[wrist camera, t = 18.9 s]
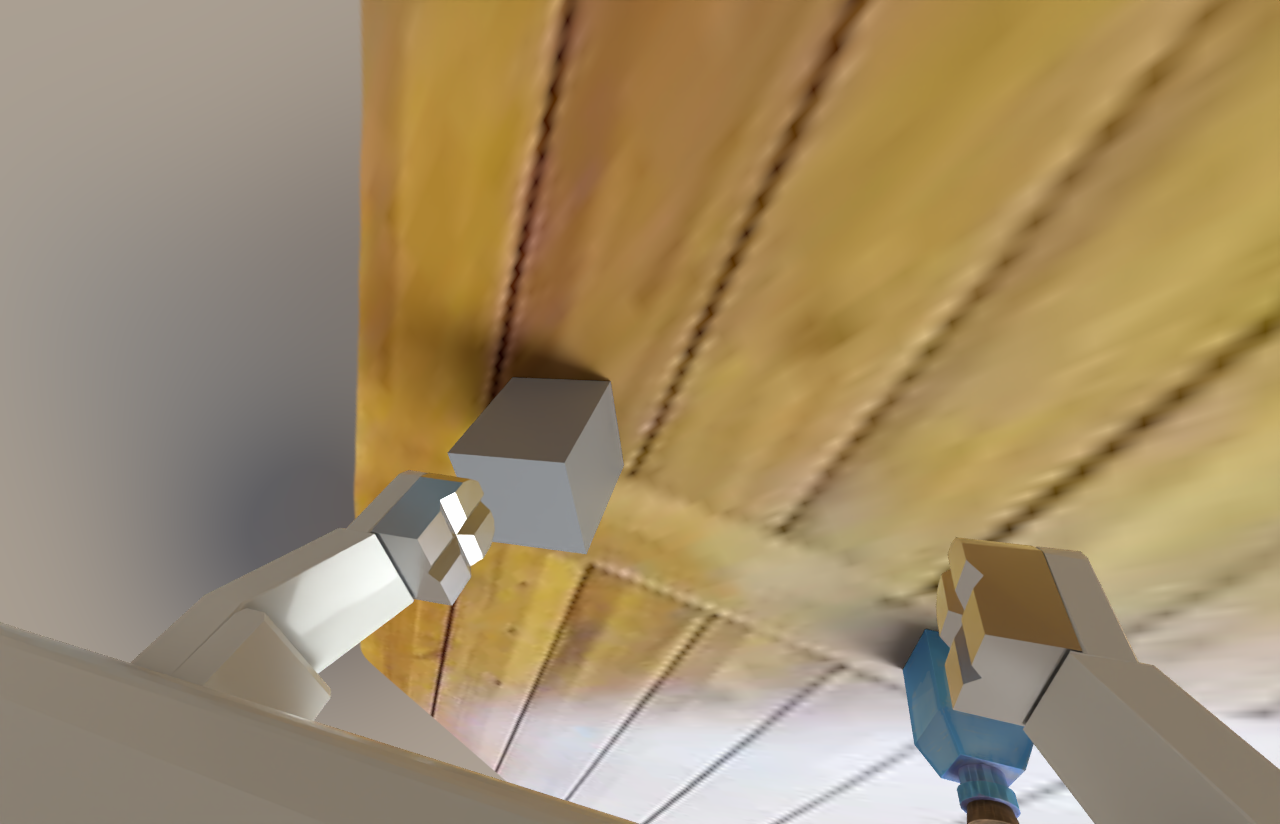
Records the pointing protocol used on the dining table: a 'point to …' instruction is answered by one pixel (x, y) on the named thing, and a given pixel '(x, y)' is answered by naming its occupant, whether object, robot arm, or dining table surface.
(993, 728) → the perfume bottle
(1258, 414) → the dining table surface
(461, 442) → the gray cuboid
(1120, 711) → the robot arm
